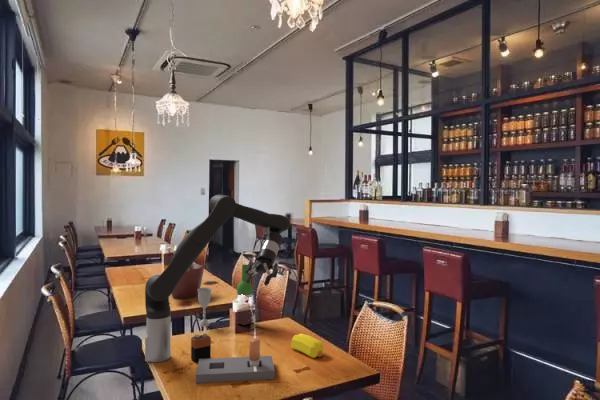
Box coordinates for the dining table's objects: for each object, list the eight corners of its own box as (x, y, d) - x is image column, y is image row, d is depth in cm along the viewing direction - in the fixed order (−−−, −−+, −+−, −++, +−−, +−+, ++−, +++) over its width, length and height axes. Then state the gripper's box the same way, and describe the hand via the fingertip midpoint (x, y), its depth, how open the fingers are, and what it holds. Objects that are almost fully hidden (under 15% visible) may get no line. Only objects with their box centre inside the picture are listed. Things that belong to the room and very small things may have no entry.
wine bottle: (249, 326, 212) (249, 266, 211) (234, 325, 213) (234, 266, 212) (254, 321, 219) (254, 264, 218) (239, 320, 221) (240, 263, 220)
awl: (249, 374, 158) (249, 342, 158) (248, 369, 162) (249, 338, 162) (259, 373, 159) (260, 341, 158) (259, 369, 163) (259, 338, 162)
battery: (190, 359, 171) (190, 334, 171) (206, 355, 175) (206, 331, 175) (194, 363, 167) (195, 338, 167) (211, 359, 171) (211, 334, 171)
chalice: (213, 323, 216) (214, 288, 215) (207, 327, 209) (207, 291, 209) (201, 322, 218) (201, 287, 217) (194, 326, 211) (194, 290, 211)
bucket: (196, 301, 257) (196, 260, 256) (160, 300, 257) (160, 259, 257) (206, 291, 281) (206, 253, 281) (173, 290, 282) (173, 253, 281)
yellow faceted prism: (299, 344, 190) (286, 348, 185) (300, 329, 189) (286, 333, 184) (328, 356, 176) (314, 361, 171) (328, 340, 176) (315, 345, 171)
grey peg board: (195, 383, 150) (195, 374, 150) (199, 366, 164) (199, 358, 164) (274, 379, 154) (274, 370, 154) (271, 363, 168) (271, 355, 168)
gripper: (251, 246, 191) (238, 277, 180) (280, 248, 185) (268, 280, 175) (257, 256, 196) (244, 286, 185) (285, 259, 191) (274, 290, 180)
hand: (256, 283), depth 180 cm, fingers open, 8 cm apart
